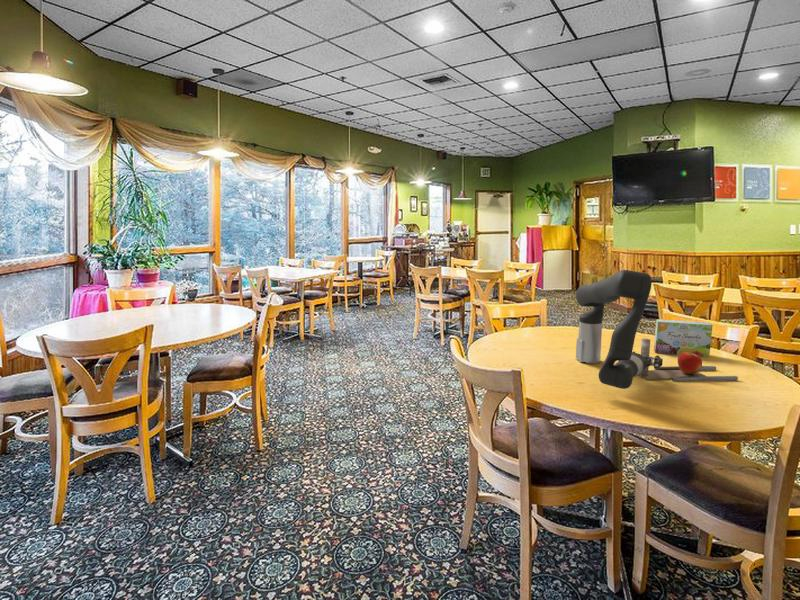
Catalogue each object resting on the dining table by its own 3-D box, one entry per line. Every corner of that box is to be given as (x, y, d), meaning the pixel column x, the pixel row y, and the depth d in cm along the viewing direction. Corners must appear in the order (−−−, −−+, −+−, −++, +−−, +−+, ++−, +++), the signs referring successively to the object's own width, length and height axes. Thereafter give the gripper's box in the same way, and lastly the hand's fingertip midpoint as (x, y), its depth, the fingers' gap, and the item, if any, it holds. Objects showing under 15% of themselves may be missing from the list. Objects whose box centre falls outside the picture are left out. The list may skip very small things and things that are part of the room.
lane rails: (673, 381, 176) (673, 377, 176) (654, 370, 190) (654, 366, 189) (737, 380, 176) (738, 376, 176) (714, 369, 189) (714, 366, 189)
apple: (673, 370, 188) (675, 345, 186) (696, 371, 185) (698, 346, 184) (680, 376, 180) (682, 351, 178) (704, 377, 178) (706, 352, 176)
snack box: (655, 353, 214) (657, 321, 211) (653, 350, 219) (656, 318, 216) (709, 357, 206) (712, 324, 203) (706, 354, 211) (709, 321, 208)
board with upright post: (646, 380, 178) (648, 342, 176) (633, 371, 188) (635, 336, 186) (709, 379, 178) (713, 341, 175) (693, 371, 188) (696, 335, 185)
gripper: (654, 359, 165) (667, 349, 176) (612, 352, 175) (627, 343, 186) (652, 379, 166) (665, 368, 178) (611, 371, 176) (626, 361, 187)
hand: (645, 356), depth 182 cm, fingers open, 8 cm apart
